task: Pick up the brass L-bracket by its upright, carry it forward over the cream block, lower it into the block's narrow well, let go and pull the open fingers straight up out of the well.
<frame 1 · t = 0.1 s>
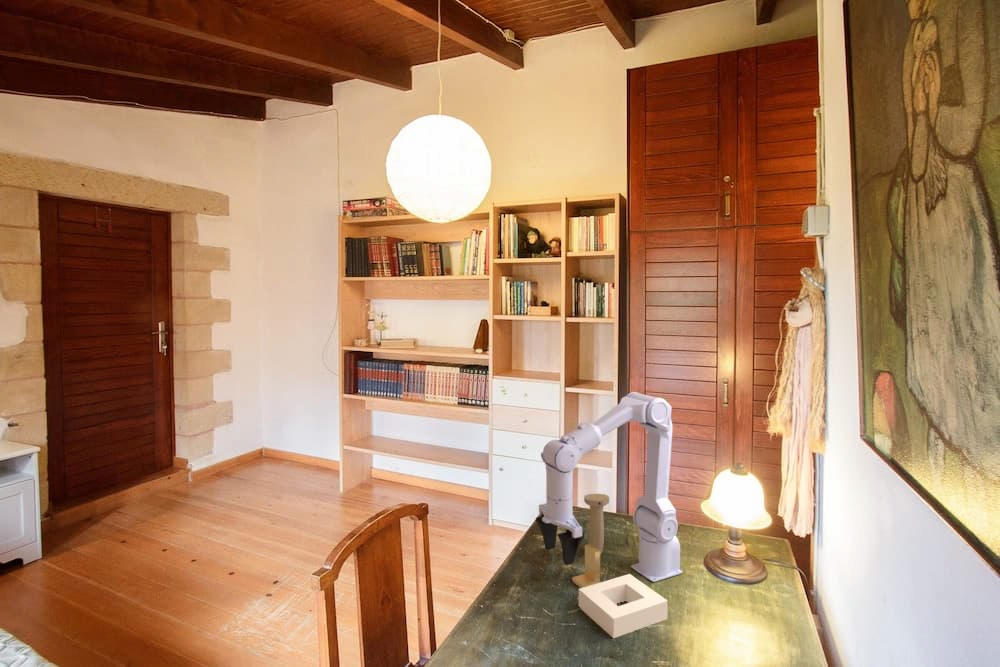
hand: (559, 556, 118), 10 cm above the table, tool pointing down, fingers open, 7 cm apart
handle: (596, 553, 140), on the table
bracket: (586, 583, 125), on the table
well block: (622, 612, 114), on the table
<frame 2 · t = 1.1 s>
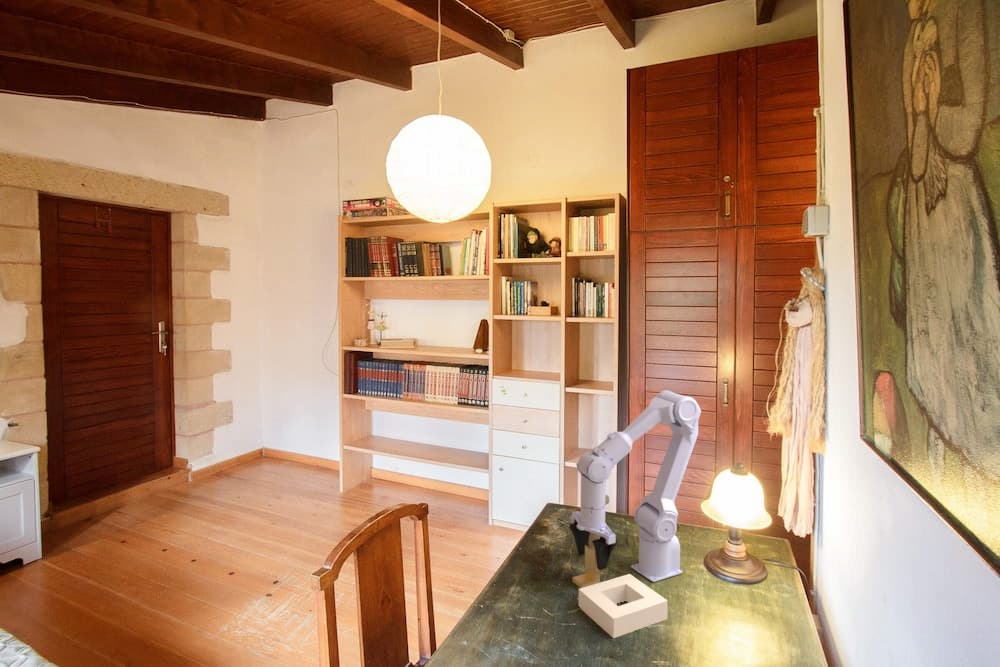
hand: (592, 561, 126), 5 cm above the table, tool pointing down, fingers open, 7 cm apart
nothing on the table moved.
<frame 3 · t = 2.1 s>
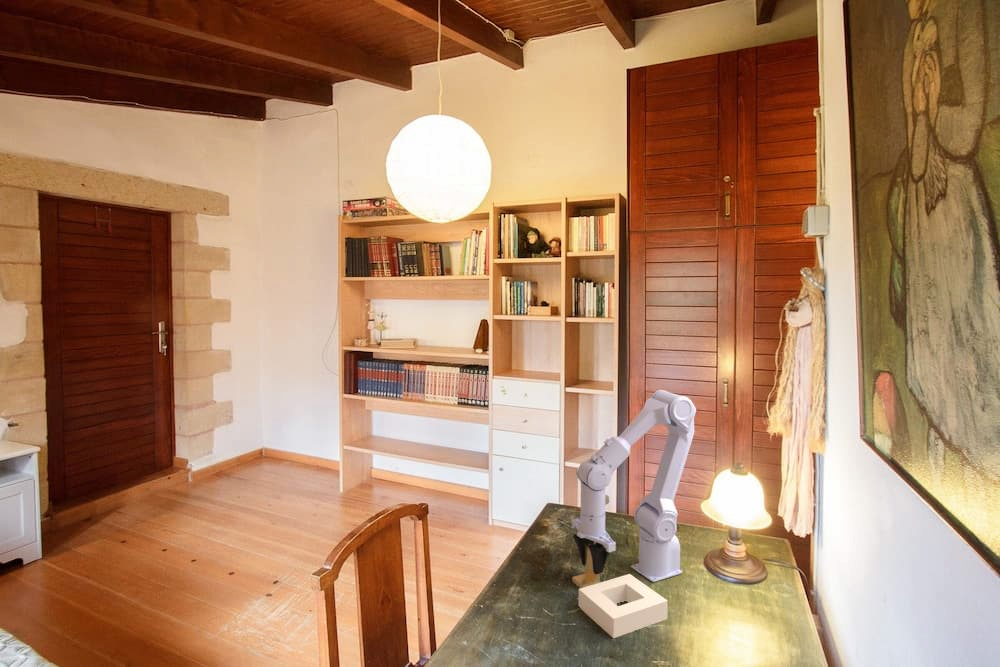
hand: (592, 568, 126), 3 cm above the table, tool pointing down, fingers closed on bracket, 4 cm apart
bracket: (586, 583, 125), on the table, touching gripper
everything else where it was.
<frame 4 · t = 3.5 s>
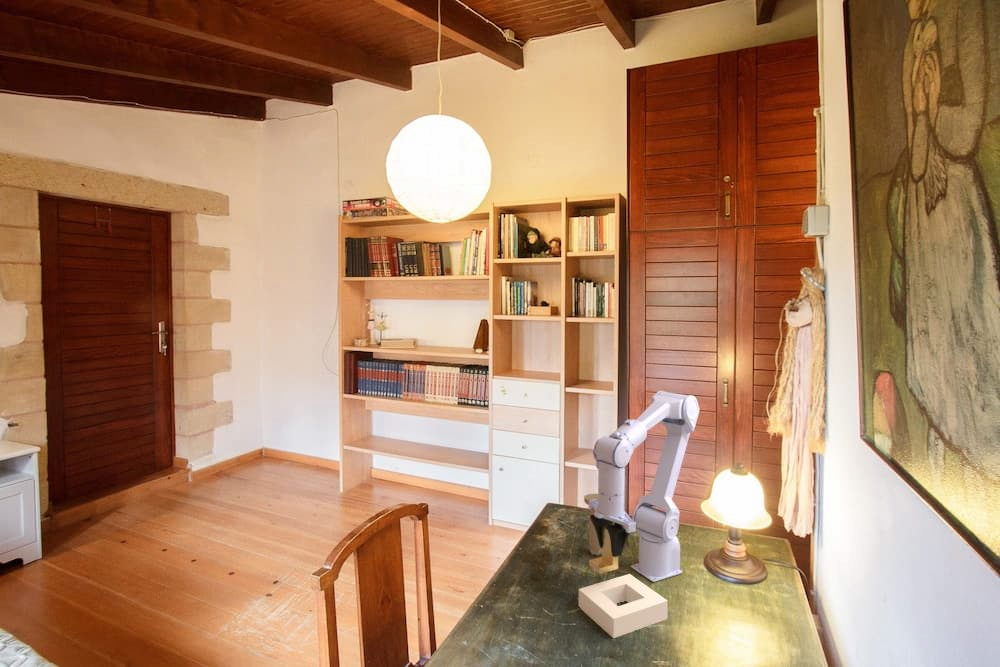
hand: (610, 551, 119), 10 cm above the table, tool pointing down, fingers closed on bracket, 4 cm apart
bracket: (603, 567, 119), point 7 cm above the table, touching gripper
everything else where it was.
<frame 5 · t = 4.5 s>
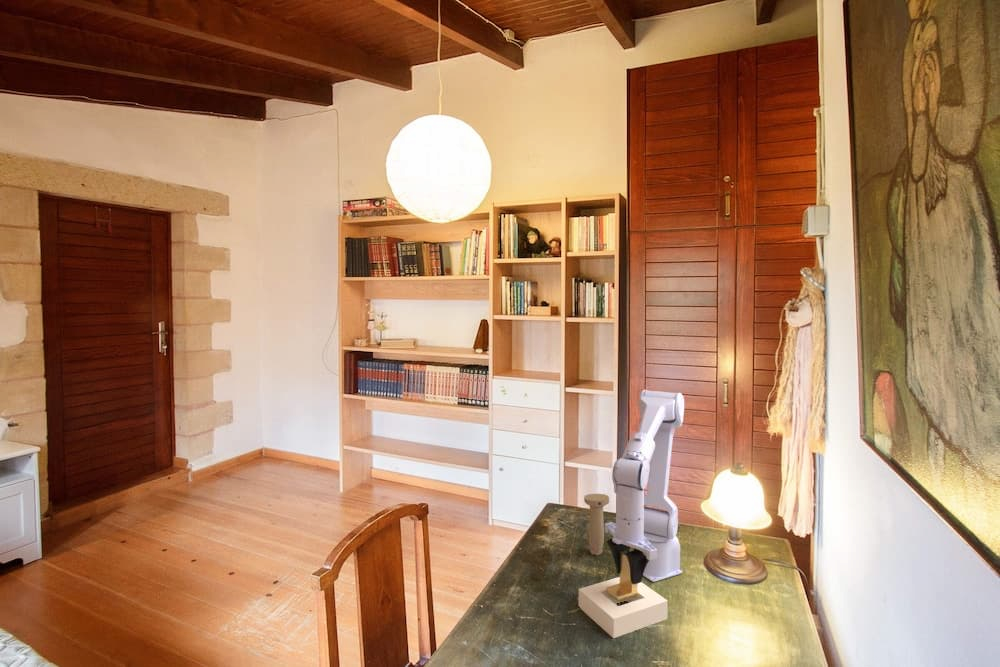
hand: (628, 577, 114), 7 cm above the table, tool pointing down, fingers closed on bracket, 4 cm apart
bracket: (621, 594, 113), point 4 cm above the table, touching gripper
everything else where it was.
when the fingers open (5 cm above the table, at t = 5.3 s): bracket drops 2 cm, resting in well block.
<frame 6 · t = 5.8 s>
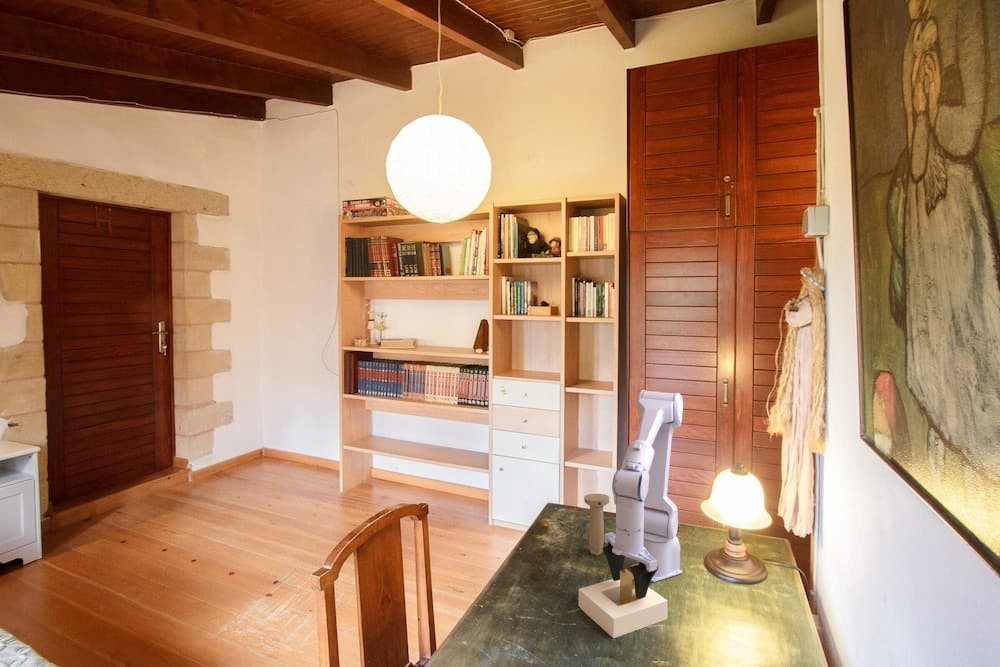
hand: (628, 588, 114), 5 cm above the table, tool pointing down, fingers open, 7 cm apart
bracket: (621, 613, 114), resting in well block
everything else where it was.
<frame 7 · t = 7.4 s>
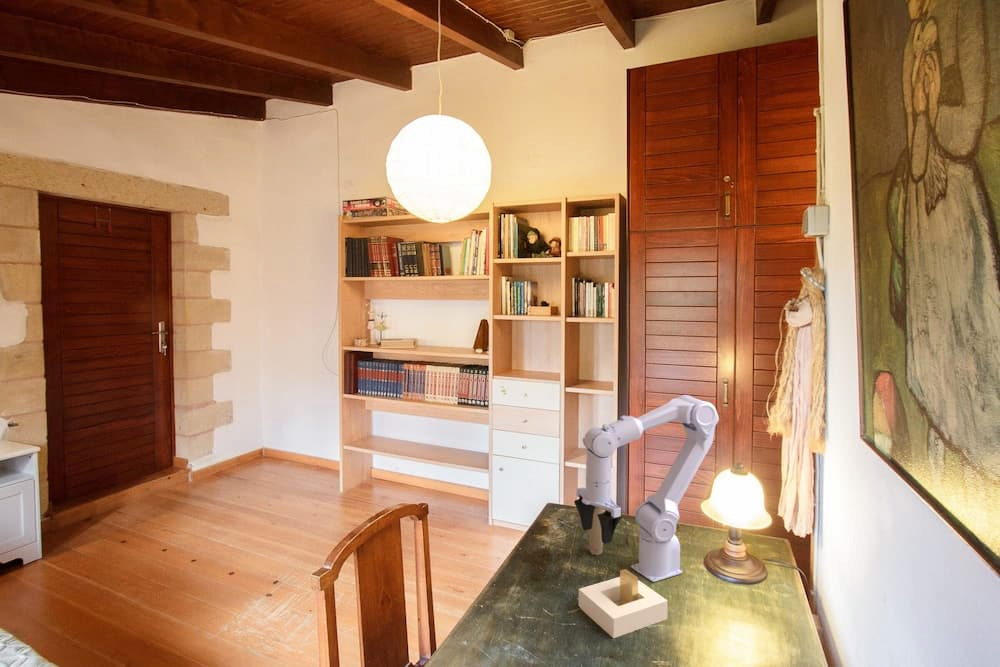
hand: (596, 535, 127), 10 cm above the table, tool pointing down, fingers open, 7 cm apart
nothing on the table moved.
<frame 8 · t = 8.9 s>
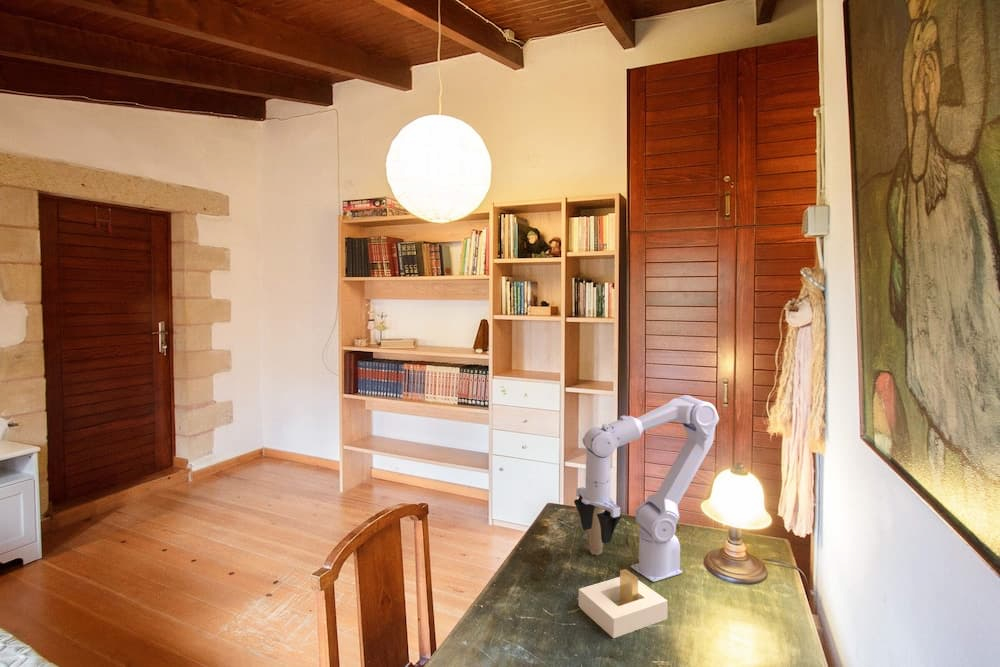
hand: (596, 535, 127), 10 cm above the table, tool pointing down, fingers open, 7 cm apart
nothing on the table moved.
at the end: bracket 0.1 cm off-centre on the well block, point 0.0 cm above the well block's base; bracket tilted 0°; the gripper is holding nothing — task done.
